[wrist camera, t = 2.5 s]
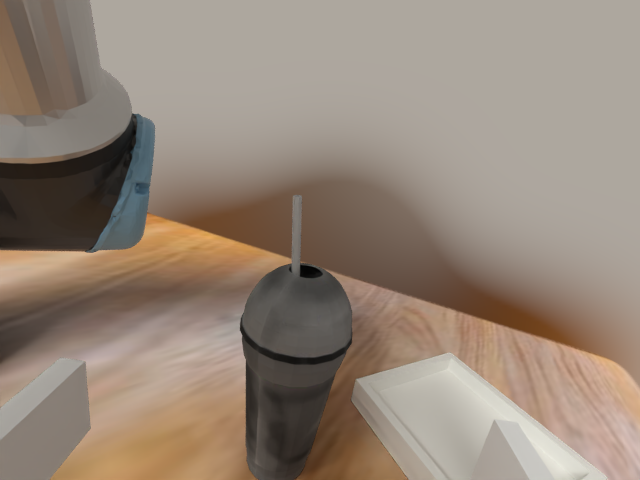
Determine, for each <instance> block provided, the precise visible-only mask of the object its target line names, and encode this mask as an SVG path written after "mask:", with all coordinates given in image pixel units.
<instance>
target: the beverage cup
mask: <svg viewBox="0 0 640 480" xmlns="http://www.w3.org/2000/svg"><path fill="white" fill-rule="evenodd" d="M301 204H302V196H300V195H294V196H293V221H292V223H293V224H292V264H288V265H284V266H281V267H279V268H277V269H275V270H273V271H272V272H270V273H268V274H267V275H266V276H264V277H263V278H262V279H261V280H260V282H259V283H258V284H257V285H256V287H255V288H254V290H253V291H252V293H251V294H250V296H249V298H248V300H247V303H246V306H245V311H244V313H243V315H242V318H241V323H240V331H241V333H242V335H243V336H242V343H243V351H244V356H245V358H246V448H247V463H248V466H249V470H250V471H251V472H252V474H253V475H254V476H255V477H256V478H257V479H259V480H294V479H295V478H296V477H297V476H299V475H300V473H301V472H302V470H303V468H304V466H305V461H306V460H307V457H308V455H309V453H310V451H311V448H312V445H313V442H314V439H315V435H316V432H317V429H318V426H319V423H320V420H321V417H322V414H323V411H324V408H325V404H326V401H327V398H328V395H329V392H330V389H331V386H332V383H333V380H334V377H335V374H336V371H337V370H338V368H339V367H340V365H341V363H342V361H343V358H344V356H345V354H346V351H347V349H348V348H349V347H350V345H351V344H352V310H351V305H350V302H349V300H348V297H347V295H346V293H345V291H344V289H343V287H342V286H341V284H340V283H339V282H338V281H337V279H336V278H335V277H333V276H332V275H331V274H330V273H329V272H327V271H326V270H324V269H322V268H320V267H317V266H314V265H311V264H306V263H300V248H301V247H300V245H301V207H302V205H301Z"/></svg>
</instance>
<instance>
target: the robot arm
mask: <svg viewBox="0 0 640 480" xmlns="http://www.w3.org/2000/svg"><path fill="white" fill-rule="evenodd" d="M154 142H155V125H154V123H153V122H152V121H151V120H150V119H147V118H144V117H142V116H141V115H139V114H132V107H131V103H130V99H129V96H128V93H127V92H126V90H125V89H124V87H123V86H122V85H121V84H120V82H119V81H118V80H117V79H115V78H114V77H113V76H112V75H111V74H110V73H108V72H107V71H105V70H104V69H102V68H101V66H100V60H99V54H98V48H97V42H96V35H95V29H94V23H93V17H92V11H91V5H90V0H0V250H21V251H85V252H88V253H93V252H96V251H98V250H119V249H128V248H131V247H133V246H135V245H136V244H137V243H138V242H139V241H140V240H141V238H142V236H143V233H144V229H145V224H146V217H147V210H148V201H149V187H150V181H151V175H152V166H153V165H152V164H153V155H154ZM90 429H91V426H90V414H89V401H88V389H87V376H86V364H85V361H81V360H74V359H67V358H59V359H58V360H57V361H56V362H55V363H53V364H52V365H51V366H50V367H49V368H47V369H46V370H45V371H44V372H43V373H41V374H40V375H39V376H38V377H37V378H35V379H34V380H33V381H32V382H31V383H29V384H28V385H27V386H26V387H25V388H23V389H22V390H21V391H20V392H19V393H17V394H16V395H15V396H14V397H13V398H11V399H10V400H9V401H8V402H7V403H5V404H4V405H3V406H2V407H1V408H0V480H49V479H50V478H51V477H52V476H53V474H54V473H55V472H56V471H57V469H58V468H59V467H60V466H61V465H62V463H63V462H64V461H65V460H66V458H67V457H68V456H69V455H70V453H71V452H72V451H73V450H74V448H75V447H76V446H77V445H78V443H79V442H80V441H81V440H82V439H83V437H84V436H85V435H86V434H87V432H88V431H89V430H90ZM470 480H555V479H554V477H553V476H552V474H551V473H550V471H549V470H548V468H547V467H546V465H545V464H544V462H543V461H542V459H541V458H540V456H539V455H538V453H537V452H536V450H535V448H534V447H533V445H532V444H531V442H530V441H529V439H528V438H527V436H526V435H525V433H524V432H523V430H522V429H521V427H520V426H519V424H518V423H517V422H511V421H504V420H497V419H494V421H493V423H492V426H491V428H490V431H489V433H488V436H487V438H486V441H485V443H484V445H483V448H482V450H481V453H480V455H479V458H478V460H477V463H476V465H475V468H474V470H473V473H472V475H471V478H470Z"/></svg>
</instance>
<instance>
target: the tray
mask: <svg viewBox="0 0 640 480" xmlns="http://www.w3.org/2000/svg"><path fill="white" fill-rule="evenodd" d="M351 401H352V403H353V404H354V405H355V407H356V408H357V409H358V411H359V412H360V414H361V415H362V416H363V418H364V419H365V420H366V422H367V423H368V424H369V426H370V427H371V429H372V430H373V431H374V433H375V434H376V435H377V437H378V438H379V440H380V441H381V442H382V444H383V445H384V446H385V448H386V449H387V450H388V452H389V453H390V455H391V456H392V457H393V459H394V460H395V461H396V463H397V464H398V466H399V467H400V468H401V470H402V471H403V472H404V474H405V475H406V476H407V478H408V479H409V480H470V478H471V475H472V473H473V470H474V468H475V465H476V463H477V460H478V458H479V455H480V453H481V450H482V448H483V445H484V443H485V441H486V438H487V436H488V433H489V431H490V428H491V426H492V423H493V421H494V419H497V420H504V421H511V422H517V423H518V424H519V426H520V427H521V429H522V430H523V432H524V433H525V435H526V436H527V438H528V439H529V441H530V442H531V444H532V445H533V447H534V448H535V450H536V452H537V453H538V455H539V456H540V458H541V459H542V461H543V462H544V464H545V465H546V467H547V468H548V470H549V471H550V473H551V474H552V476H553V477H554V479H555V480H607V479H608V477H606V476H605V475H604V474H603V473H601V472H600V471H599V470H598V469H596V468H595V467H594V466H593V465H591V464H590V463H589V462H588V461H586V460H585V459H584V458H583V457H581V456H580V455H579V454H578V453H576V452H575V451H574V450H573V449H571V448H570V447H569V446H568V445H566V444H565V443H564V442H562V441H561V440H560V439H559V438H557V437H556V436H555V435H554V434H552V433H551V432H550V431H549V430H547V429H546V428H545V427H544V426H542V425H541V424H540V423H539V422H537V421H536V420H535V419H534V418H532V417H531V416H530V415H529V414H527V413H526V412H525V411H524V410H522V409H521V408H520V407H518V406H517V405H516V404H515V403H513V402H512V401H511V400H510V399H508V398H507V397H506V396H505V395H503V394H502V393H501V392H500V391H498V390H497V389H496V388H495V387H493V386H492V385H491V384H490V383H488V382H487V381H486V380H485V379H483V378H482V377H481V376H480V375H478V374H477V373H476V372H475V371H473V370H472V369H471V368H469V367H468V366H467V365H466V364H464V363H463V362H462V361H461V360H459V359H458V358H457V357H456V356H454V355H453V354H452V353H451V352H449V353H446V354H442V355H439V356H435V357H432V358H428V359H425V360H421V361H418V362H414V363H411V364H407V365H404V366H400V367H397V368H393V369H390V370H386V371H383V372H379V373H376V374H372V375H369V376H365V377H362V378H358V379H356V381H355V385H354V389H353V393H352V397H351Z"/></svg>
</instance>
